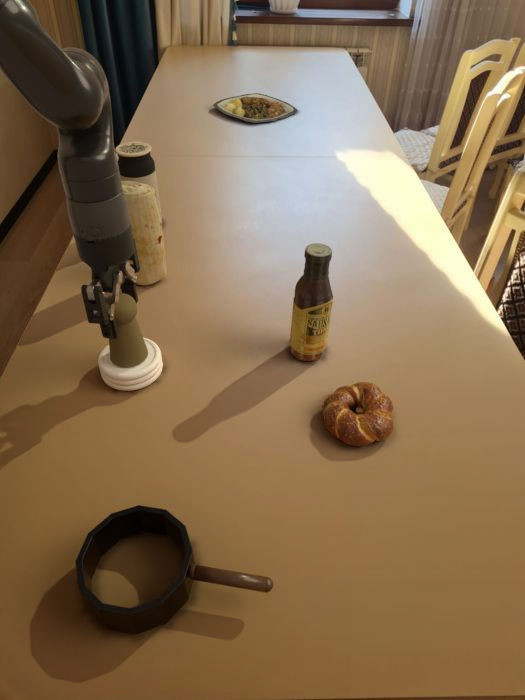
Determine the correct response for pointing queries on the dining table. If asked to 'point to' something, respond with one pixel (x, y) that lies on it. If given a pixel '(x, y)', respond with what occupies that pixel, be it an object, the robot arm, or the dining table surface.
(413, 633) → the dining table surface
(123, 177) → the travel mug
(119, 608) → the pan
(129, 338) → the olive green pawn
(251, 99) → the meal
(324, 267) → the sauce bottle
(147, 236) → the food model
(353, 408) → the pretzel
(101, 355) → the coaster
